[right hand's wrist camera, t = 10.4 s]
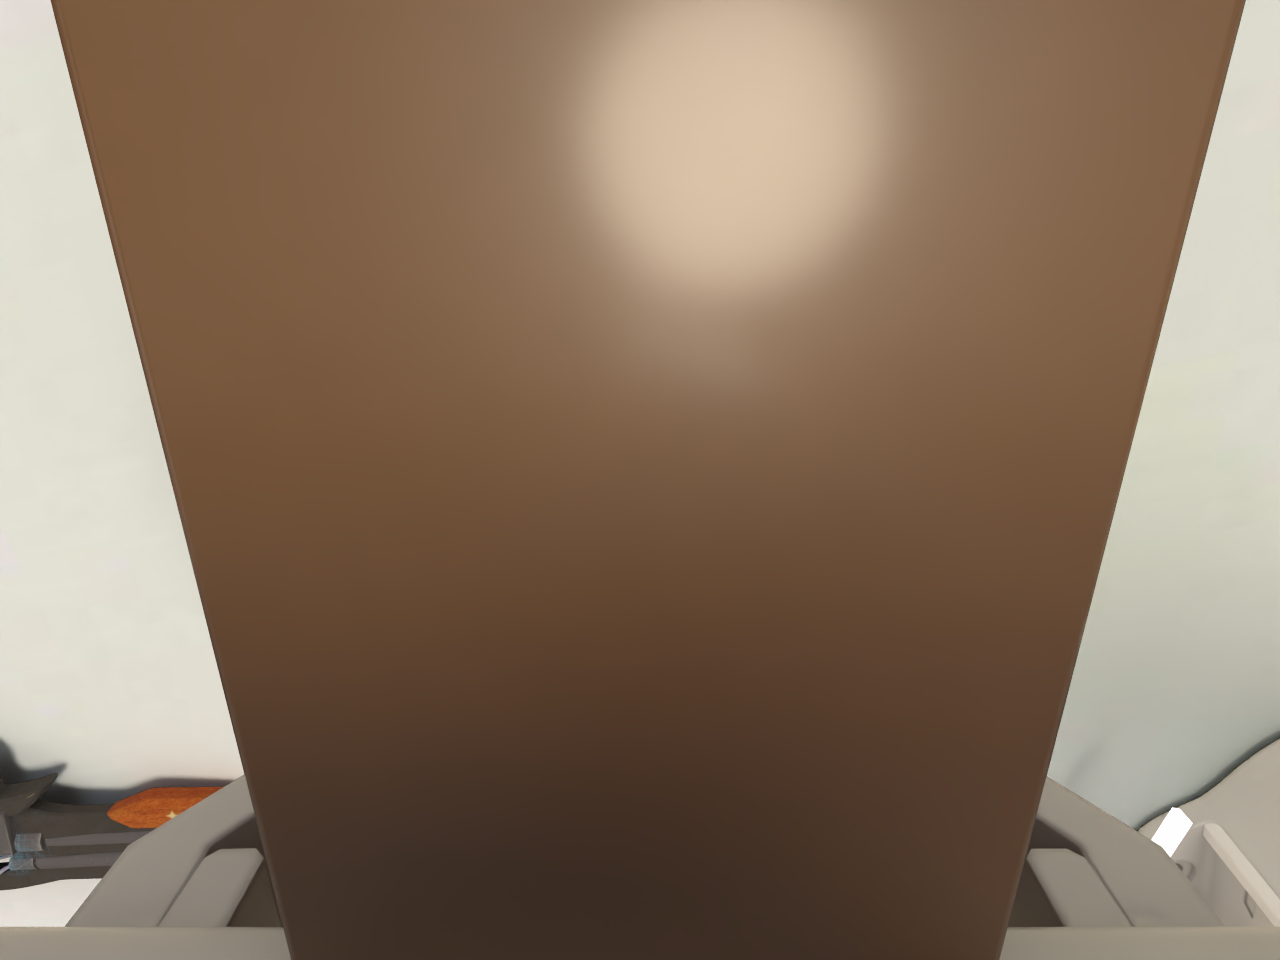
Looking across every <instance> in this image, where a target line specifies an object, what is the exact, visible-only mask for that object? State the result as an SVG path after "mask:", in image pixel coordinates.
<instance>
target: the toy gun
mask: <svg viewBox="0 0 1280 960" xmlns="http://www.w3.org/2000/svg"><path fill="white" fill-rule="evenodd" d="M56 778H57V774H52V775H49V776H46V777H43V778H40V779H36V780H32V781H28V782H21V783H15V784H5V783H4V782H3V781H2V780H1V777H0V859H4V858H8V857H11V859H10V861H9V862H4V863H0V890H9V889H17V888H24V887H29V886H34V885H39V884H44V883H48V882H53V881H57V880H65V879H93V878H103V877H104V876H105V874H106V873H107V872H108V871H109V869H110V868H111V867H112V866H113V864H114V863H115V862H116V860H117V859H118V858H119V857H120V855H121V854H122V853H123V851H124V850H125V849H126V848H127V846H128V845H130V844H131V843H133V842H135V841H136V840H138V839H140V838H141V837H143V836H144V835H146V834H148V833H149V832H151V831H153V830H154V829H156V828H158V827H159V826H161V825H162V824H164V823H166V822H167V821H169V820H171V819H172V818H174V817H176V816H177V815H179V814H181V813H182V812H184V811H185V810H187V809H189V808H190V807H192V806H194V805H195V804H197V803H199V802H200V801H202V800H203V799H205V798H207V797H208V796H210V795H212V794H213V793H215V792H217V791H218V790H220V789H221V788H223V787H162V788H150V789H148V790H145V791H143V792H140V793H137V794H135V795H132V796H130V797H127V798H125V799H122V800H120V801H117V802H116V803H113V804H101V805H69V804H61V803H52V802H47V801H44V800H40V799H38V798H39V797H40V796H41V795H42V794H44V793H45V792H46V791H47V790H48V788H49V787H50V786H51V785H52V783H53V782H54V781H55V779H56Z"/></svg>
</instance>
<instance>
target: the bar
mask: <svg viewBox="0 0 1280 960" xmlns="http://www.w3.org/2000/svg"><path fill="white" fill-rule="evenodd" d="M1245 1H1246V0H51V3H52V7H53V11H54V15H55V19H56V23H57V27H58V31H59V35H60V39H61V43H62V47H63V51H64V55H65V59H66V63H67V67H68V71H69V75H70V79H71V83H72V87H73V91H74V95H75V99H76V103H77V107H78V111H79V115H80V119H81V123H82V127H83V131H84V135H85V139H86V143H87V147H88V151H89V155H90V159H91V163H92V167H93V171H94V175H95V179H96V183H97V187H98V191H99V195H100V199H101V203H102V207H103V211H104V215H105V219H106V223H107V227H108V231H109V235H110V239H111V243H112V247H113V251H114V255H115V259H116V263H117V267H118V271H119V275H120V279H121V283H122V287H123V291H124V295H125V299H126V303H127V307H128V311H129V315H130V319H131V323H132V327H133V331H134V335H135V339H136V343H137V347H138V351H139V355H140V359H141V363H142V367H143V371H144V375H145V379H146V383H147V387H148V391H149V395H150V399H151V403H152V407H153V410H154V414H155V418H156V422H157V426H158V430H159V434H160V438H161V442H162V446H163V450H164V454H165V458H166V462H167V466H168V470H169V474H170V478H171V482H172V486H173V490H174V494H175V498H176V502H177V506H178V510H179V514H180V518H181V522H182V526H183V530H184V534H185V538H186V542H187V546H188V550H189V554H190V558H191V562H192V566H193V570H194V574H195V578H196V582H197V586H198V590H199V594H200V598H201V602H202V606H203V610H204V614H205V618H206V622H207V626H208V630H209V634H210V638H211V642H212V646H213V650H214V654H215V658H216V662H217V666H218V670H219V674H220V678H221V682H222V686H223V690H224V694H225V698H226V702H227V706H228V710H229V714H230V718H231V722H232V726H233V730H234V734H235V738H236V742H237V746H238V750H239V754H240V758H241V762H242V766H243V770H244V774H245V778H246V782H247V786H248V790H249V794H250V798H251V802H252V806H253V810H254V814H255V818H256V822H257V826H258V830H259V834H260V838H261V842H262V845H263V849H264V853H265V857H266V861H267V865H268V869H269V873H270V877H271V881H272V885H273V889H274V893H275V897H276V901H277V905H278V909H279V913H280V917H281V921H282V925H283V929H284V933H285V937H286V941H287V945H288V949H289V953H290V957H291V960H999V959H1000V955H1001V951H1002V947H1003V944H1004V940H1005V936H1006V932H1007V928H1008V924H1009V920H1010V916H1011V912H1012V908H1013V905H1014V901H1015V897H1016V893H1017V889H1018V885H1019V881H1020V877H1021V873H1022V870H1023V866H1024V862H1025V858H1026V854H1027V850H1028V846H1029V842H1030V838H1031V834H1032V831H1033V827H1034V823H1035V819H1036V815H1037V811H1038V807H1039V803H1040V799H1041V795H1042V792H1043V788H1044V784H1045V780H1046V776H1047V772H1048V768H1049V764H1050V760H1051V757H1052V753H1053V749H1054V745H1055V741H1056V737H1057V733H1058V729H1059V725H1060V721H1061V718H1062V714H1063V710H1064V706H1065V702H1066V698H1067V694H1068V690H1069V686H1070V683H1071V679H1072V675H1073V671H1074V667H1075V663H1076V659H1077V655H1078V651H1079V647H1080V644H1081V640H1082V636H1083V632H1084V628H1085V624H1086V620H1087V616H1088V612H1089V608H1090V605H1091V601H1092V597H1093V593H1094V589H1095V585H1096V581H1097V577H1098V573H1099V570H1100V566H1101V562H1102V558H1103V554H1104V550H1105V546H1106V542H1107V538H1108V534H1109V531H1110V527H1111V523H1112V519H1113V515H1114V511H1115V507H1116V503H1117V499H1118V496H1119V492H1120V488H1121V484H1122V480H1123V476H1124V472H1125V468H1126V464H1127V460H1128V457H1129V453H1130V449H1131V445H1132V441H1133V437H1134V433H1135V429H1136V425H1137V422H1138V418H1139V414H1140V410H1141V406H1142V402H1143V398H1144V394H1145V390H1146V386H1147V383H1148V379H1149V375H1150V371H1151V367H1152V363H1153V359H1154V355H1155V351H1156V347H1157V344H1158V340H1159V336H1160V332H1161V328H1162V324H1163V320H1164V316H1165V312H1166V309H1167V305H1168V301H1169V297H1170V293H1171V289H1172V285H1173V281H1174V277H1175V273H1176V270H1177V266H1178V262H1179V258H1180V254H1181V250H1182V246H1183V242H1184V238H1185V235H1186V231H1187V227H1188V223H1189V219H1190V215H1191V211H1192V207H1193V203H1194V199H1195V196H1196V192H1197V188H1198V184H1199V180H1200V176H1201V172H1202V168H1203V164H1204V160H1205V157H1206V153H1207V149H1208V145H1209V141H1210V137H1211V133H1212V129H1213V125H1214V122H1215V118H1216V114H1217V110H1218V106H1219V102H1220V98H1221V94H1222V90H1223V86H1224V83H1225V79H1226V75H1227V71H1228V67H1229V63H1230V59H1231V55H1232V51H1233V48H1234V44H1235V40H1236V36H1237V32H1238V28H1239V24H1240V20H1241V16H1242V12H1243V9H1244V5H1245Z"/></svg>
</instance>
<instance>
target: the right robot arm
mask: <svg viewBox="0 0 1280 960" xmlns="http://www.w3.org/2000/svg"><path fill="white" fill-rule="evenodd" d="M0 960H291V957H290V953H289V949H288V945H287V941H286V937H285V933H284V929H283V925H282V921H281V917H280V913H279V909H278V905H277V901H276V897H275V893H274V889H273V885H272V881H271V877H270V873H269V869H268V865H267V861H266V857H265V853H264V849H263V845H262V842H261V838H260V834H259V830H258V826H257V822H256V818H255V814H254V810H253V806H252V802H251V798H250V794H249V790H248V786H247V782H246V778H245V774H244V775H243V776H241V777H239V778H238V779H236V780H235V781H233V782H231V783H230V784H228V785H226V786H225V787H223V788H221V789H220V790H218V791H217V792H215V793H213V794H212V795H210V796H208V797H207V798H205V799H203V800H202V801H200V802H199V803H197V804H195V805H194V806H192V807H190V808H189V809H187V810H185V811H184V812H182V813H181V814H179V815H177V816H176V817H174V818H172V819H171V820H169V821H167V822H166V823H164V824H162V825H161V826H159V827H158V828H156V829H154V830H153V831H151V832H149V833H148V834H146V835H144V836H143V837H141V838H140V839H138V840H136V841H135V842H133V843H131V844H130V845H128V846H127V848H126V849H125V850H124V851H123V853H122V854H121V855H120V857H119V858H118V859H117V860H116V862H115V863H114V864H113V866H112V867H111V868H110V869H109V871H108V872H107V873H106V874H105V876H104V877H103V878H102V880H101V881H100V882H99V883H98V885H97V886H96V887H95V889H94V890H93V891H92V892H91V894H90V895H89V896H88V897H87V899H86V900H85V901H84V903H83V904H82V905H81V906H80V908H79V909H78V910H77V912H76V913H75V914H74V915H73V917H72V918H71V919H70V920H69V922H68V923H67V924H66V926H65V927H0ZM999 960H1280V739H1278V740H1276V741H1275V742H1273V743H1271V744H1270V745H1268V746H1266V747H1265V748H1263V749H1262V750H1260V751H1259V752H1257V753H1256V754H1254V755H1253V756H1251V757H1250V758H1249V759H1247V760H1246V761H1245V762H1244V763H1242V764H1241V765H1240V766H1238V767H1237V768H1236V769H1235V770H1234V771H1233V772H1231V773H1230V774H1229V775H1228V776H1227V777H1225V778H1224V779H1223V780H1222V781H1221V782H1220V783H1218V784H1217V785H1216V786H1215V787H1213V788H1212V789H1211V790H1209V791H1208V792H1207V793H1205V794H1204V795H1202V796H1201V797H1199V798H1197V799H1195V800H1192V801H1190V802H1188V803H1185V804H1183V805H1181V806H1179V807H1177V808H1172V809H1171V810H1170V811H1168V812H1166V813H1164V814H1162V815H1160V816H1158V817H1156V818H1155V819H1153V820H1151V821H1150V822H1148V823H1147V824H1145V825H1144V826H1143V827H1142V828H1141V829H1140V830H1139V831H1138V832H1137V831H1136V830H1134V829H1132V828H1131V827H1129V826H1127V825H1126V824H1124V823H1123V822H1121V821H1119V820H1118V819H1116V818H1114V817H1113V816H1111V815H1109V814H1108V813H1106V812H1104V811H1103V810H1101V809H1099V808H1098V807H1096V806H1095V805H1093V804H1091V803H1090V802H1088V801H1086V800H1085V799H1083V798H1081V797H1080V796H1078V795H1076V794H1075V793H1073V792H1071V791H1070V790H1068V789H1067V788H1065V787H1063V786H1062V785H1060V784H1058V783H1057V782H1055V781H1053V780H1052V779H1050V778H1048V777H1047V776H1046V780H1045V784H1044V788H1043V792H1042V795H1041V799H1040V803H1039V807H1038V811H1037V815H1036V819H1035V823H1034V827H1033V831H1032V834H1031V838H1030V842H1029V846H1028V850H1027V854H1026V858H1025V862H1024V866H1023V870H1022V873H1021V877H1020V881H1019V885H1018V889H1017V893H1016V897H1015V901H1014V905H1013V908H1012V912H1011V916H1010V920H1009V924H1008V928H1007V932H1006V936H1005V940H1004V944H1003V947H1002V951H1001V955H1000V959H999Z"/></svg>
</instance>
